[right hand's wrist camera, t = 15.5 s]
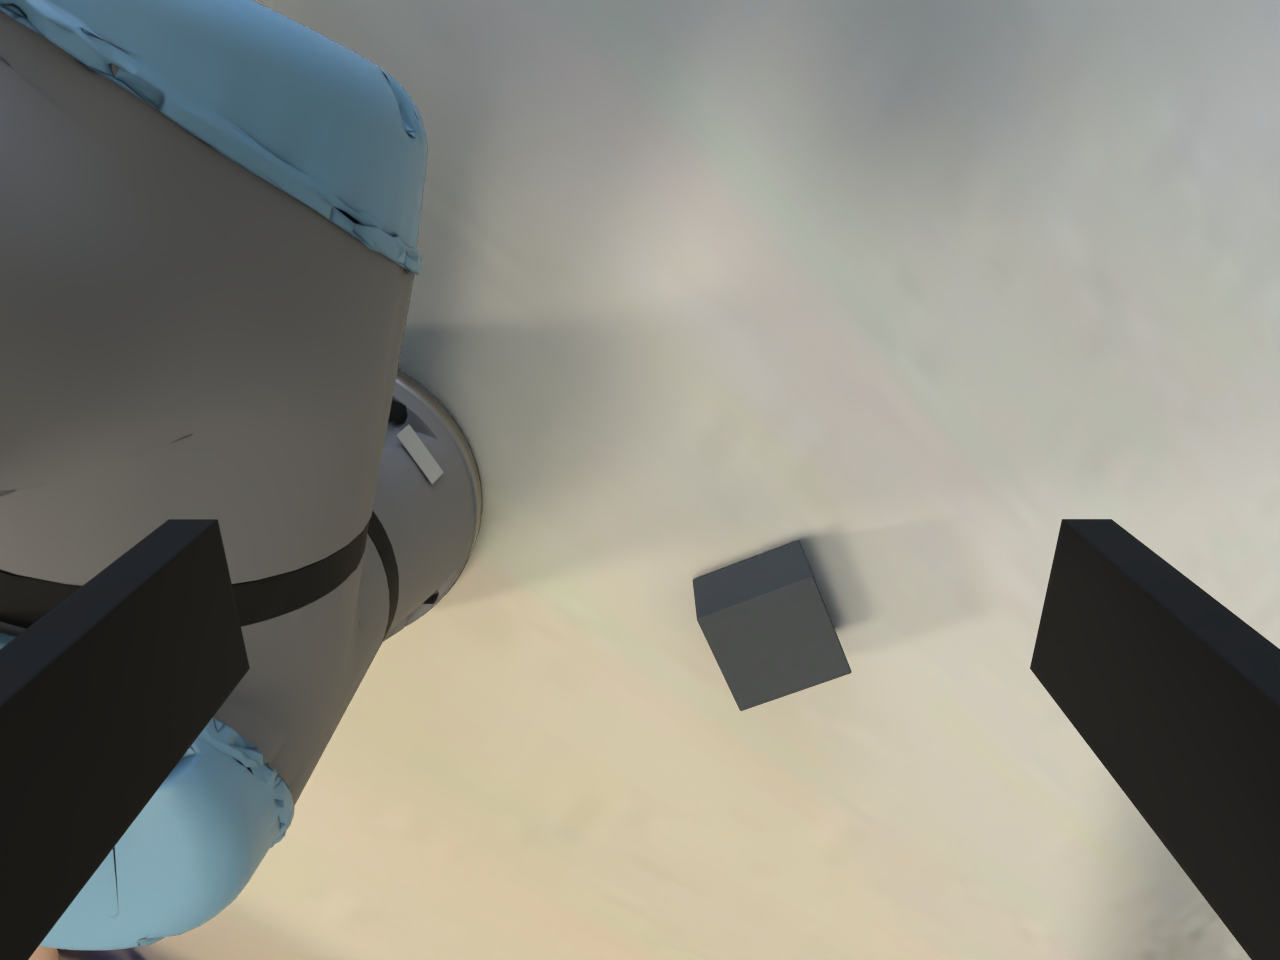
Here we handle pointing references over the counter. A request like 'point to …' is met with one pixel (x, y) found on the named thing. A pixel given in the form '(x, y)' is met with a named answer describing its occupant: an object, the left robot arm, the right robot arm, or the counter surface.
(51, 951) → the figurine character
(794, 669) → the grey block
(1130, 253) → the counter surface
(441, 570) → the right robot arm
